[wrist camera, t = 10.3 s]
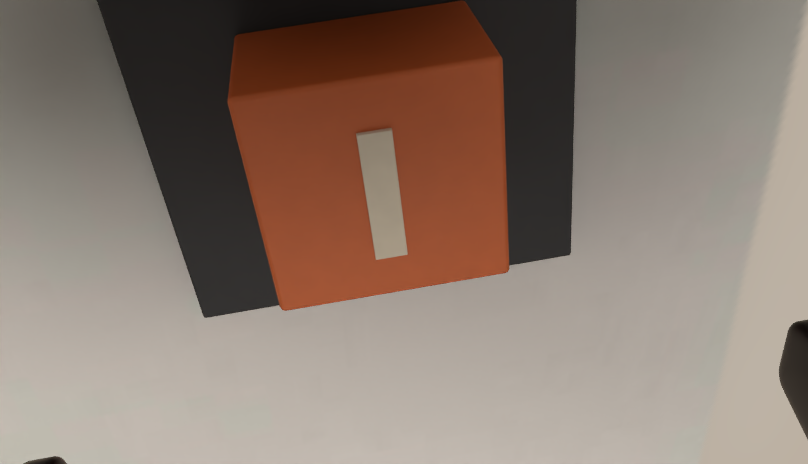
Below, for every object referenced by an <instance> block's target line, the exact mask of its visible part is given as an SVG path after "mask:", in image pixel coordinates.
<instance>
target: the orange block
mask: <svg viewBox="0 0 808 464" xmlns="http://www.w3.org/2000/svg"><path fill="white" fill-rule="evenodd" d="M227 103H228V107H229V111H230V115H231V118H232V122H233V126H234V130H235V134H236V138H237V142H238V146H239V150H240V153H241V157H242V161H243V165H244V169H245V173H246V177H247V181H248V184H249V188H250V192H251V196H252V200H253V204H254V208H255V212H256V216H257V219H258V223H259V227H260V231H261V235H262V239H263V243H264V247H265V251H266V254H267V258H268V262H269V266H270V270H271V274H272V278H273V282H274V286H275V289H276V293H277V297H278V301H279V305H280V307H281V309H282V310H285V311H287V310H292V309H298V308H304V307H310V306H316V305H321V304H327V303H333V302H339V301H345V300H351V299H356V298H362V297H368V296H374V295H380V294H385V293H391V292H397V291H403V290H409V289H415V288H420V287H426V286H432V285H438V284H444V283H449V282H455V281H461V280H467V279H473V278H479V277H484V276H490V275H496V274H502V273H506V272H508V270H509V244H508V213H507V182H506V150H505V119H504V88H503V59H502V57H501V55H500V54H499V52H498V51H497V49H496V48H495V46H494V45H493V43H492V42H491V40H490V38H489V37H488V35H487V34H486V32H485V31H484V29H483V28H482V26H481V25H480V23H479V22H478V20H477V19H476V17H475V16H474V14H473V13H472V11H471V10H470V8H469V6H468V5H467V3H466V2H465V1H455V2H449V3H442V4H436V5H429V6H422V7H416V8H409V9H402V10H396V11H389V12H383V13H376V14H369V15H363V16H356V17H349V18H343V19H336V20H330V21H323V22H316V23H310V24H303V25H296V26H290V27H283V28H277V29H270V30H263V31H257V32H250V33H243V34H238V35H236V36H235V38H234V46H233V55H232V64H231V73H230V83H229V92H228V101H227Z"/></svg>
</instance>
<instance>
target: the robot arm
mask: <svg viewBox="0 0 808 464" xmlns="http://www.w3.org/2000/svg"><path fill="white" fill-rule="evenodd" d="M779 377H780V382H781V385H782V388H783V390H784V392H785V394H786V396H787V398H788V400H789V402H790V404H791V406H792V408H793V410H794V412H795V414H796V417H797V419H798V420H799V423H800V425H801V427H802V428H803V431H804V433H805V435H806V437H807V439H808V320H804V321H798V322H795V323H793V324H792V325H791V327H790V328H789V330H788V333H787V338H786V342H785V346H784V350H783V354H782V358H781V362H780V366H779ZM24 464H67V463H66V462H65V461H64V460H63V459H62V458H60V457H56V456H54V457H48V458H43V459H37V460H32V461H28V462H26V463H24Z"/></svg>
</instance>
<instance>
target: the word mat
mask: <svg viewBox="0 0 808 464" xmlns="http://www.w3.org/2000/svg"><path fill="white" fill-rule="evenodd" d="M455 1H465V2H466V3H467V5H468V6H469V8H470V10H471V11H472V13H473V14H474V16H475V17H476V19H477V20H478V22H479V23H480V25H481V26H482V28H483V29H484V31H485V32H486V34H487V35H488V37H489V38H490V40H491V42H492V43H493V45H494V46H495V48H496V49H497V51H498V52H499V54H500V55H501V57H502V59H503V88H504V119H505V150H506V182H507V213H508V244H509V265H514V264H520V263H526V262H531V261H537V260H543V259H549V258H554V257H560V256H566V255H570V253H571V216H572V174H573V131H574V88H575V45H576V3H577V0H97V2H98V5H99V8H100V11H101V14H102V17H103V20H104V23H105V26H106V28H107V31H108V34H109V37H110V40H111V43H112V46H113V49H114V52H115V55H116V58H117V61H118V64H119V67H120V70H121V73H122V76H123V79H124V82H125V85H126V88H127V91H128V94H129V97H130V100H131V103H132V106H133V108H134V111H135V114H136V117H137V120H138V123H139V126H140V129H141V132H142V135H143V138H144V141H145V144H146V147H147V150H148V153H149V156H150V159H151V162H152V165H153V168H154V171H155V174H156V177H157V180H158V183H159V186H160V189H161V191H162V194H163V197H164V200H165V203H166V206H167V209H168V212H169V215H170V218H171V221H172V224H173V227H174V230H175V233H176V236H177V239H178V242H179V245H180V248H181V251H182V254H183V257H184V260H185V263H186V266H187V269H188V271H189V274H190V277H191V280H192V283H193V286H194V289H195V292H196V295H197V298H198V301H199V304H200V307H201V310H202V313H203V316H204V317H206V318H207V317H213V316H219V315H225V314H230V313H236V312H242V311H248V310H253V309H259V308H265V307H271V306H277V305H279V301H278V297H277V293H276V289H275V286H274V282H273V278H272V274H271V270H270V266H269V262H268V258H267V254H266V251H265V247H264V243H263V239H262V235H261V231H260V227H259V223H258V219H257V216H256V212H255V208H254V204H253V200H252V196H251V192H250V188H249V184H248V181H247V177H246V173H245V169H244V165H243V161H242V157H241V153H240V150H239V146H238V142H237V138H236V134H235V130H234V126H233V122H232V118H231V115H230V111H229V107H228V103H227V101H228V92H229V83H230V73H231V64H232V55H233V46H234V38H235V36H236V35H238V34H243V33H250V32H257V31H263V30H270V29H277V28H283V27H290V26H296V25H303V24H310V23H316V22H323V21H330V20H336V19H343V18H349V17H356V16H363V15H369V14H376V13H383V12H389V11H396V10H402V9H409V8H416V7H422V6H429V5H436V4H442V3H449V2H455Z"/></svg>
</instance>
